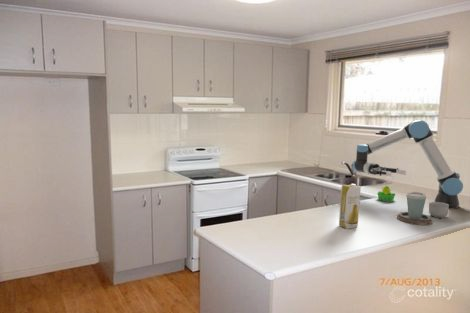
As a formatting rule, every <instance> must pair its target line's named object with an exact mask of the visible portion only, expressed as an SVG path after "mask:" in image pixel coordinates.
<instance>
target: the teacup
mask: <svg viewBox="0 0 470 313" xmlns="http://www.w3.org/2000/svg"><path fill="white" fill-rule="evenodd" d="M449 210H450V209H449V205H448V204H446V203H441V202H434V201H431V202H429V203H428V213H429V214H430V215H431V216H432V217H433V218H436V219H437V218H439V219H443V218H445V217H447V216H448V214H449Z"/></svg>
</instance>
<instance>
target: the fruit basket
mask: <svg viewBox="0 0 470 313" xmlns="http://www.w3.org/2000/svg"><path fill="white" fill-rule="evenodd" d="M376 194H377V198H378V200H379V201H383V202H391V203H392V202H393V201H394V199H395V196H396V193H393V192H391V189H390V187H389V185H385V186H383V188H382V191H377V193H376Z"/></svg>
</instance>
